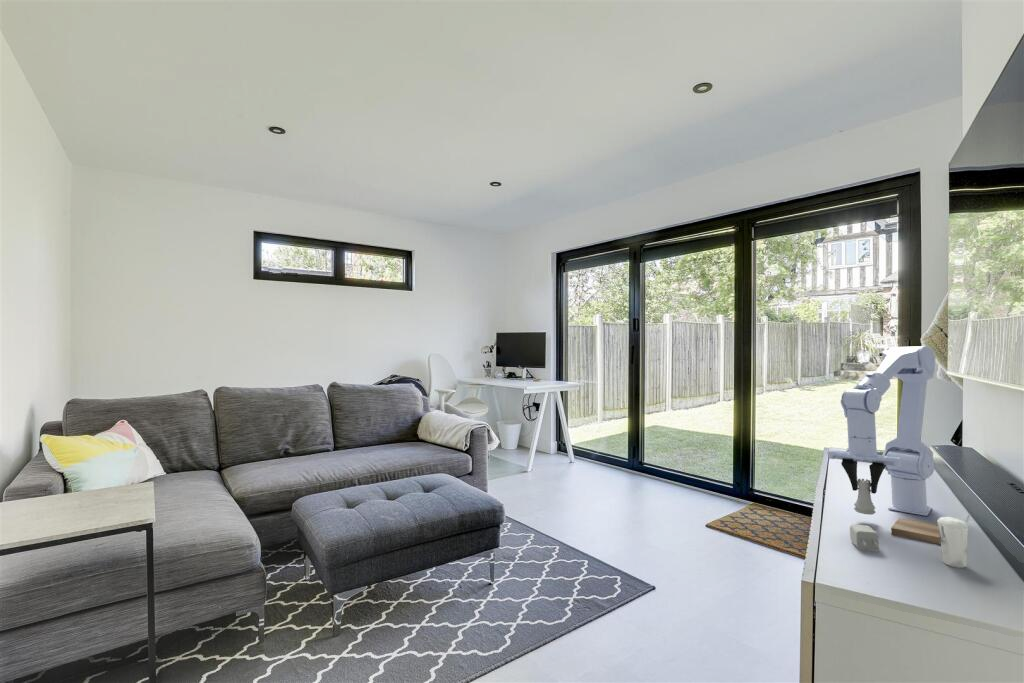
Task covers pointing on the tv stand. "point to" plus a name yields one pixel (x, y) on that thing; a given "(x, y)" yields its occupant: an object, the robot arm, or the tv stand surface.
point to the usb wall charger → (864, 537)
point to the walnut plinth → (916, 530)
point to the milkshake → (953, 540)
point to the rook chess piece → (864, 498)
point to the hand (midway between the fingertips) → (864, 491)
